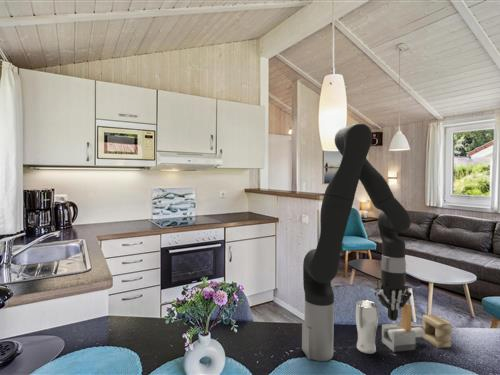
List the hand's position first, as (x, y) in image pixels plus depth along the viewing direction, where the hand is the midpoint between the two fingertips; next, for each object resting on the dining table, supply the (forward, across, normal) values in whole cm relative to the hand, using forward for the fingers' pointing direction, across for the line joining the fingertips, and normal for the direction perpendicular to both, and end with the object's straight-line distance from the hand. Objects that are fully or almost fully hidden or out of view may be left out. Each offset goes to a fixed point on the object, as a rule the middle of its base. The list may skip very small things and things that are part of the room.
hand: (392, 319), depth 99 cm
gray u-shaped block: (+9, +2, 0) cm, 9 cm away
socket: (+9, +17, 0) cm, 19 cm away
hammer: (+7, +5, 0) cm, 8 cm away
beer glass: (+9, -10, 0) cm, 14 cm away
